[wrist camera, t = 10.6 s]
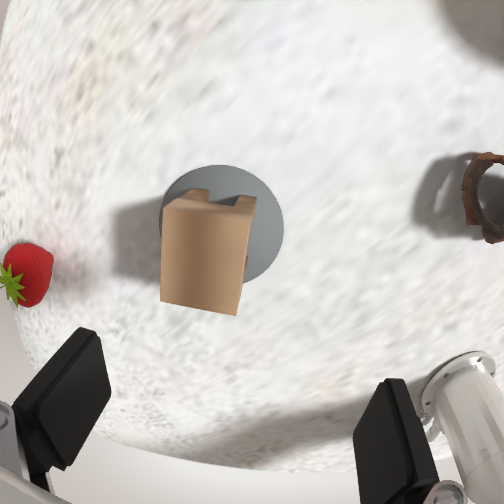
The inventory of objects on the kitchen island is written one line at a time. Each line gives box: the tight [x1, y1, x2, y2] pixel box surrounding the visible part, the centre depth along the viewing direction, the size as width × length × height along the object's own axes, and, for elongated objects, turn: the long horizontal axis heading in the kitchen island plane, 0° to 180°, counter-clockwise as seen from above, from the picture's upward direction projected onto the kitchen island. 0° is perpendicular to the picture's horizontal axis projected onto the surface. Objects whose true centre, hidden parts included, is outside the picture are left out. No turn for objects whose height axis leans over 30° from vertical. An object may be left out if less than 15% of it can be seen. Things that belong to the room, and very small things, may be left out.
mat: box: [159, 165, 284, 283], centre depth 30 cm, size 12×12×1 cm
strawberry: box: [0, 243, 54, 308], centre depth 29 cm, size 6×8×10 cm
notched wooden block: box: [160, 188, 257, 316], centre depth 26 cm, size 6×8×8 cm
